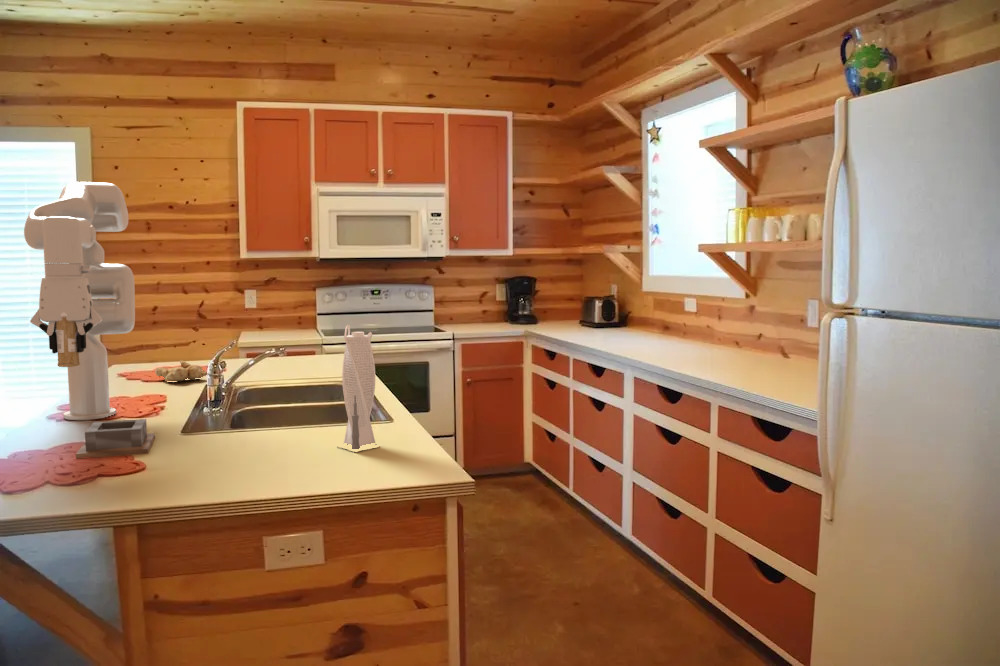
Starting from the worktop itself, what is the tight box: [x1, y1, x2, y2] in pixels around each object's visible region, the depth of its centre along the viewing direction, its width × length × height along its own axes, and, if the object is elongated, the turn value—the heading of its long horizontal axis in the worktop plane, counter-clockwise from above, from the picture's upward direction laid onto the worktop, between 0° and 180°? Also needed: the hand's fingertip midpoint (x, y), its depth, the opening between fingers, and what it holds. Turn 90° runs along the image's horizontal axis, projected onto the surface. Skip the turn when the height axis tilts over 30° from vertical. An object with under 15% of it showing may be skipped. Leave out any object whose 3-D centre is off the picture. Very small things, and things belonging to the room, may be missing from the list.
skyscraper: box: [341, 323, 376, 449], centre depth 170 cm, size 8×8×28 cm
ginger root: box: [154, 359, 208, 382], centre depth 259 cm, size 16×16×8 cm
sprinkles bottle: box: [56, 313, 80, 368], centre depth 170 cm, size 5×5×13 cm
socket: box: [75, 418, 156, 459], centre depth 170 cm, size 16×14×6 cm
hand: (68, 351), depth 170 cm, fingers closed on sprinkles bottle, 4 cm apart
